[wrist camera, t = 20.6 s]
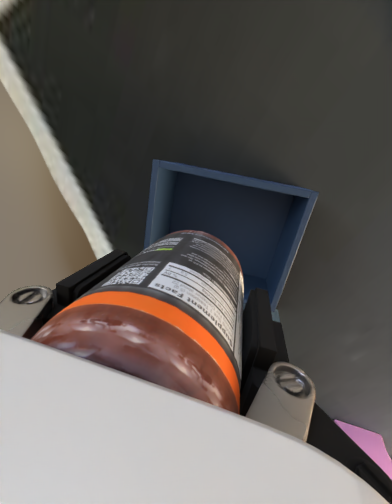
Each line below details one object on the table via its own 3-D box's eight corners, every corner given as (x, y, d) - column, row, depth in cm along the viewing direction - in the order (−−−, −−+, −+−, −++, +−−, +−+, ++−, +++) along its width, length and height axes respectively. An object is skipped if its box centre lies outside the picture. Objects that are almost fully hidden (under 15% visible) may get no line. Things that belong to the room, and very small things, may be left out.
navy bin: (302, 187, 24) (319, 192, 18) (269, 282, 28) (274, 312, 22) (175, 162, 26) (152, 159, 20) (162, 254, 30) (140, 275, 24)
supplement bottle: (189, 332, 15) (50, 697, 5) (129, 264, 14) (-196, 510, 4) (266, 288, 13) (341, 795, 2) (200, 204, 12) (-110, 400, 2)
